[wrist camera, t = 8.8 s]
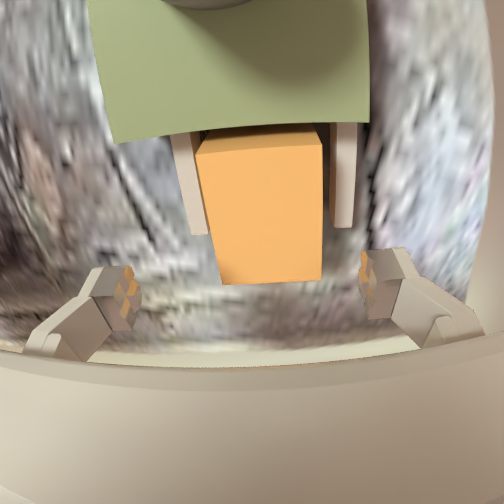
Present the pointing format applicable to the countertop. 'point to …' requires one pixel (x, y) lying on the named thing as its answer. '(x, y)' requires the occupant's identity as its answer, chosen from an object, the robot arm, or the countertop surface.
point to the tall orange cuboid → (264, 201)
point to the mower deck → (234, 77)
